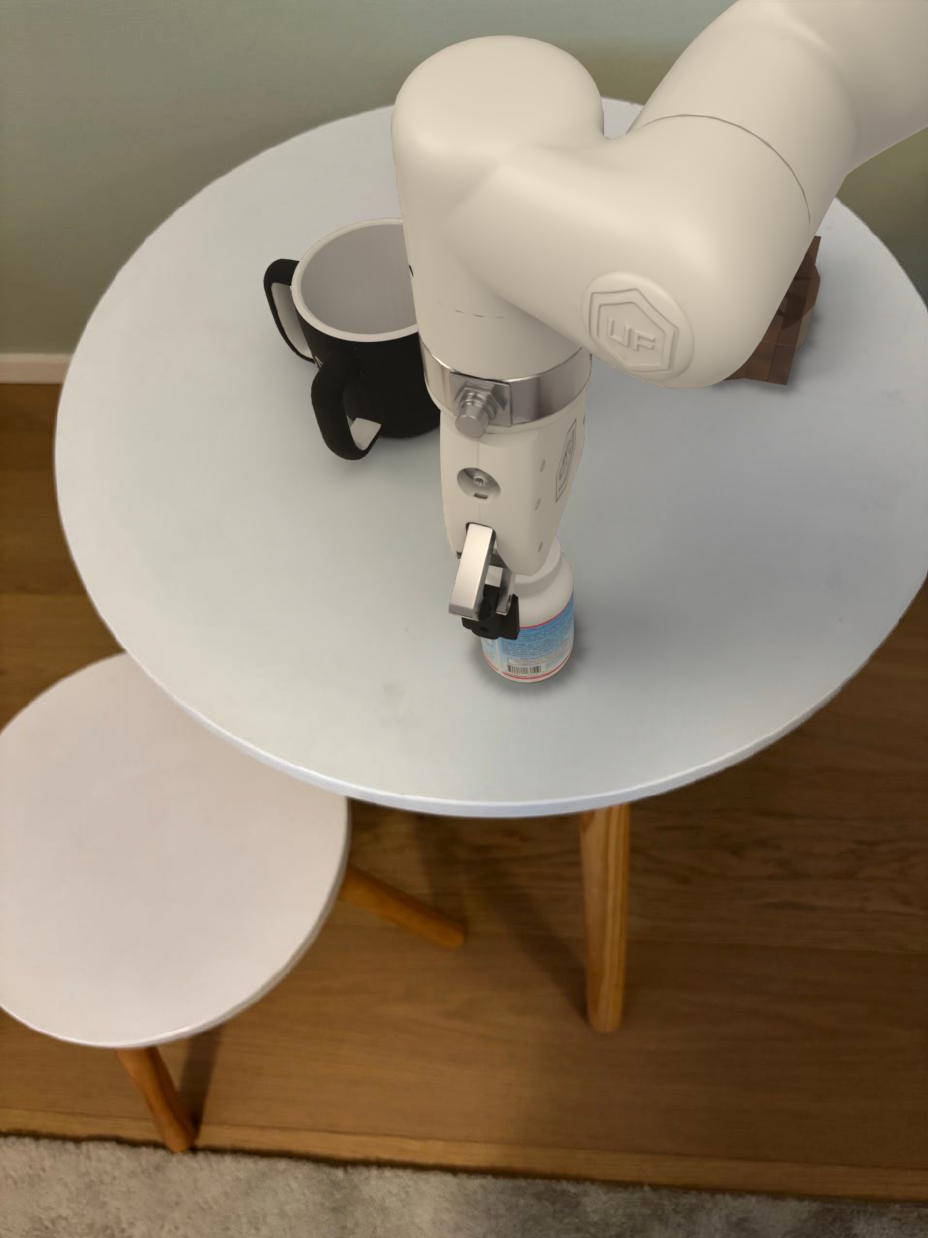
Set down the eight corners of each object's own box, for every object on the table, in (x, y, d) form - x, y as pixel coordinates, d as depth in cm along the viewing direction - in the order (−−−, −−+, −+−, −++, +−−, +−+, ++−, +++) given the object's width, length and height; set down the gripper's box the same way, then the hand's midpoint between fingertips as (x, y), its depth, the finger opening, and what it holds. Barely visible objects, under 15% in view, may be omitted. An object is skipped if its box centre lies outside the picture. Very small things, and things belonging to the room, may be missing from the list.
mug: (285, 348, 84) (246, 226, 74) (475, 301, 85) (463, 174, 75) (320, 503, 76) (282, 389, 66) (531, 449, 77) (526, 328, 66)
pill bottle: (590, 629, 69) (594, 531, 59) (543, 701, 66) (540, 611, 57) (511, 591, 71) (503, 490, 61) (464, 659, 68) (447, 566, 59)
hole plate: (820, 272, 84) (831, 231, 80) (793, 393, 77) (804, 354, 74) (657, 248, 87) (661, 207, 83) (618, 362, 80) (621, 324, 77)
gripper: (534, 521, 41) (537, 706, 55) (636, 228, 49) (615, 459, 63) (357, 481, 42) (406, 671, 57) (484, 204, 50) (498, 435, 65)
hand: (516, 559), depth 60 cm, fingers open, 9 cm apart
